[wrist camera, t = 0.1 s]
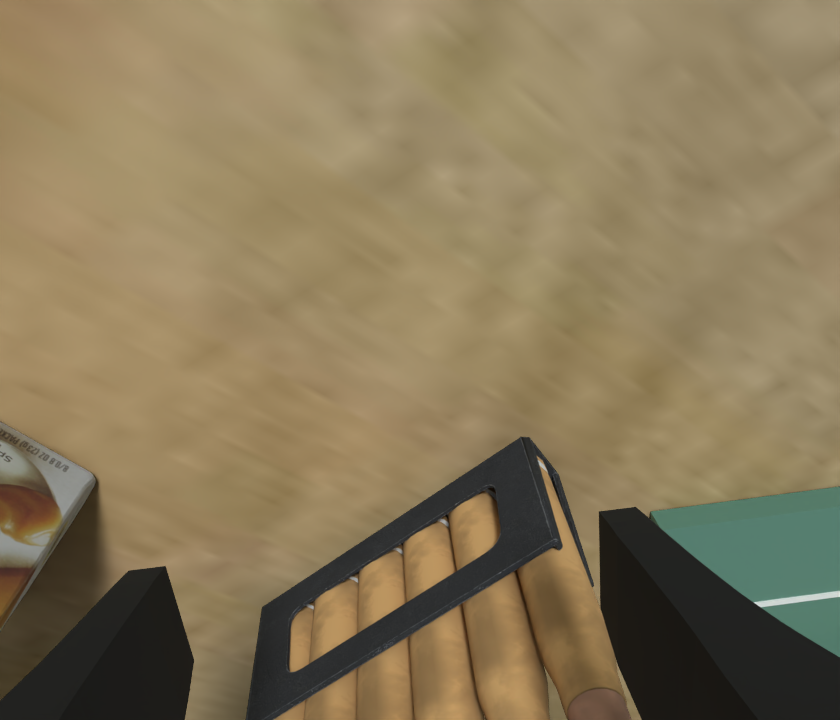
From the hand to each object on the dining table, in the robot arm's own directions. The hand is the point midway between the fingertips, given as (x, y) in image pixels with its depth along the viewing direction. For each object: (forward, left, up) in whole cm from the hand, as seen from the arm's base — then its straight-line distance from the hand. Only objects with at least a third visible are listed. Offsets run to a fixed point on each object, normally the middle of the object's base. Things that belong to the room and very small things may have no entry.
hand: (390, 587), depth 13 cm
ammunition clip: (-7, 0, -10) cm, 12 cm away
